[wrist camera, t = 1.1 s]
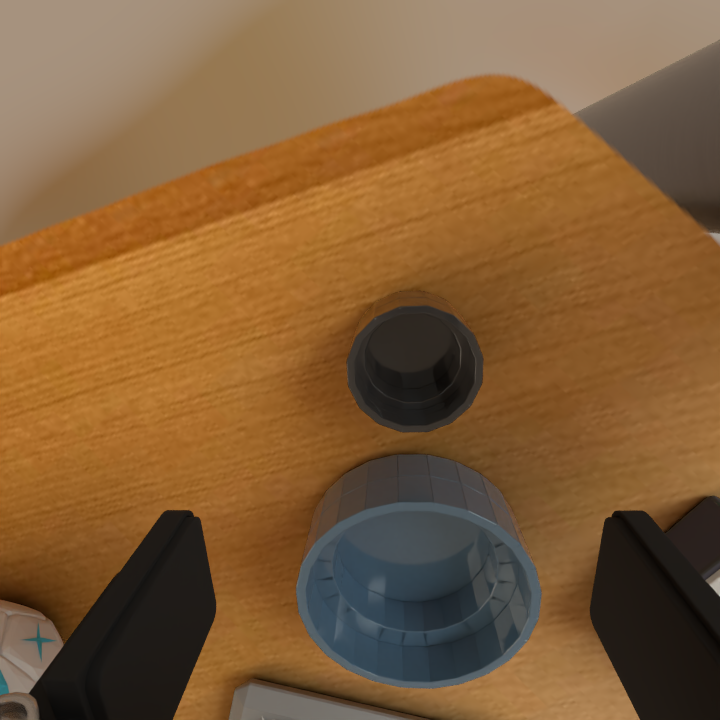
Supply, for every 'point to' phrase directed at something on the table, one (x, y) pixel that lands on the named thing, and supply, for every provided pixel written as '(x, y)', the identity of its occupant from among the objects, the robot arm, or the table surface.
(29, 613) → the puzzle ball
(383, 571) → the blue bowl
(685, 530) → the calculator
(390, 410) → the black bowl
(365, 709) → the decorative plate
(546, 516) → the table surface
